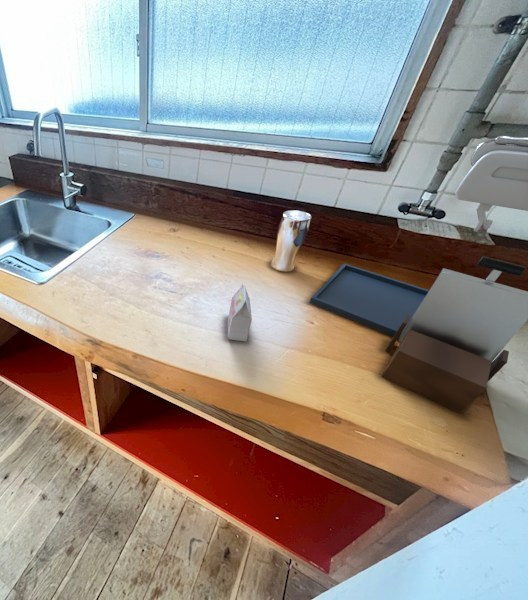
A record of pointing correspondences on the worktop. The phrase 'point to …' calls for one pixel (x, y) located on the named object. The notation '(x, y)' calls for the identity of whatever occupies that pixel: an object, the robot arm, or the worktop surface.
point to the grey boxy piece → (239, 316)
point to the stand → (440, 369)
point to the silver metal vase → (290, 239)
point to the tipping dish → (472, 310)
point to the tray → (369, 298)
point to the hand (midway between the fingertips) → (520, 239)
